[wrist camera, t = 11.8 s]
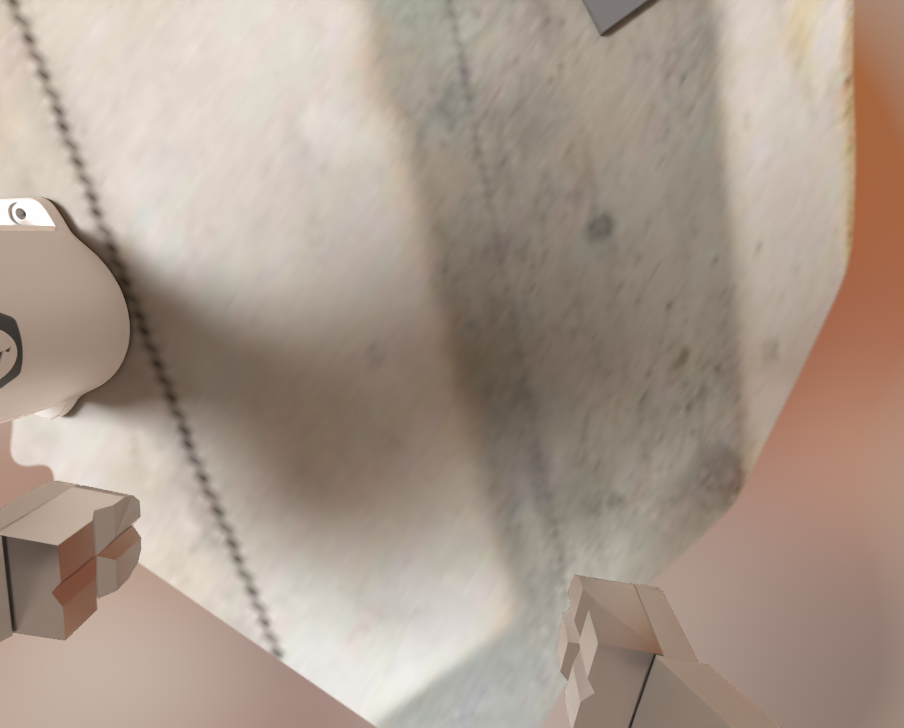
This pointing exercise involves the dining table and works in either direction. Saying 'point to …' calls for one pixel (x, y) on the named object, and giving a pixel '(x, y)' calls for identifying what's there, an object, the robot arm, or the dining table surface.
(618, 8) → the mat
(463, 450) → the dining table surface
